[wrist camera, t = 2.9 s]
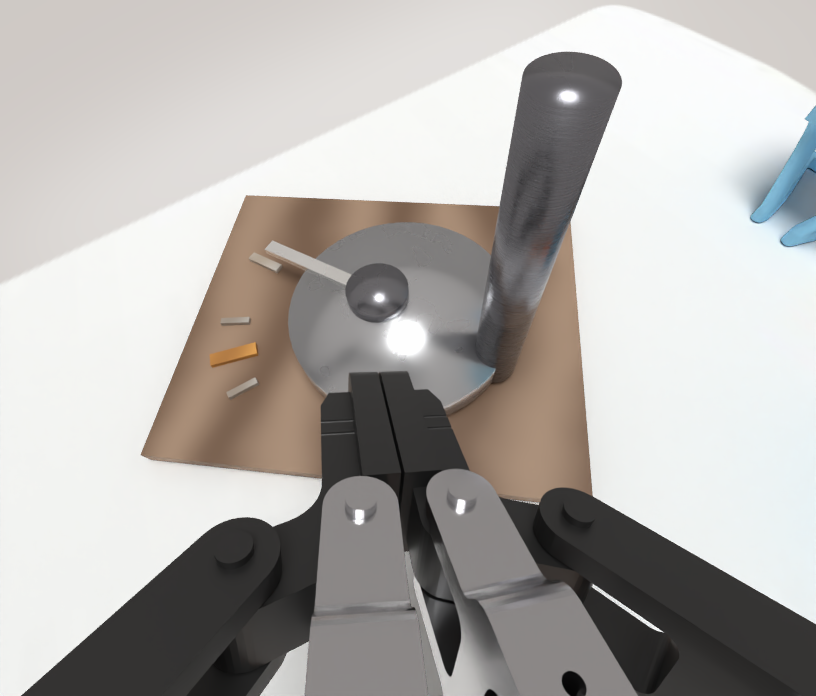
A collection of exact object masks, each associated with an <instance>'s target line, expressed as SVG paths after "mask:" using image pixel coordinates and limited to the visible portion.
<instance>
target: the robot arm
mask: <svg viewBox="0 0 816 696" xmlns="http://www.w3.org/2000/svg"><path fill="white" fill-rule="evenodd" d="M320 407H321V465H322V488H321V492H320V495H319V497H318V499H317V500H316V502H315V503H314V504H313V505H312V506H311V507H310V508H309V509H308V510H307V511H306V512H305V513H303V514H302V515H300V516H298V517H297V518H294V519H292V520H290V521H287V522H285V523H282V524H279V525H277V526H274V527H272V526H271V525H269V524H268V523H267V522H265V521H262V520H260V519H256V518H248V517H245V518H236V519H231V520H228V521H225V522H223V523H220V524H218V525H216V526H215V527H213V528H211V529H210V530H209V531H207V532H206V533H205V534H203V535H202V536H201V537H200V538H199V539H198V540H197V541H196V542H194V543H193V544H192V545H191V546H190V547H189V548H188V549H187V550H185V551H184V552H183V553H182V554H181V555H180V556H179V557H177V558H176V559H175V560H174V561H173V562H172V563H171V564H170V565H168V566H167V567H166V568H165V569H164V570H163V571H162V572H161V573H159V574H158V575H157V576H156V577H155V578H154V579H153V580H151V581H150V582H149V583H148V584H147V585H146V586H145V587H144V588H142V589H141V590H140V591H139V592H138V593H137V594H136V595H135V596H133V597H132V598H131V599H130V600H129V601H128V602H127V603H125V604H124V605H123V606H122V607H121V608H120V609H119V610H118V611H116V612H115V613H114V614H113V615H112V616H111V617H110V618H109V619H107V620H106V621H105V622H104V623H103V624H102V625H101V626H99V627H98V628H97V629H96V630H95V631H94V632H93V633H92V634H90V635H89V636H88V637H87V638H86V639H85V640H84V641H83V642H81V643H80V644H79V645H78V646H77V647H76V648H75V649H73V650H72V651H71V652H70V653H69V654H68V655H67V656H66V657H64V658H63V659H62V660H61V661H60V662H59V663H58V664H57V665H55V666H54V667H53V668H52V669H51V670H50V671H49V672H47V673H46V674H45V675H44V676H43V677H42V678H41V679H40V680H38V681H37V682H36V683H35V684H34V685H33V686H32V687H30V688H29V689H28V690H27V691H26V692H25V693H24V694H23V695H21V696H260V694H261V693H262V691H263V690H264V689H265V687H266V686H267V684H268V683H269V682H270V680H271V679H272V677H273V676H274V675H275V673H276V672H277V670H278V669H279V667H280V666H281V664H282V662H283V661H284V658H285V656H286V653H287V652H289V651H291V650H293V649H295V648H297V647H299V646H301V645H302V644H304V643H306V642H308V641H309V649H308V661H307V673H306V685H305V696H428V691H427V683H426V675H425V667H424V659H423V652H422V644H421V636H420V628H419V622H418V617H417V613H416V610H415V608H414V607H411V604H410V599H409V591H408V582H407V574H406V565H405V556H404V552H405V551H409V553H410V558H411V563H412V568H413V572H414V578H413V584H414V589H415V593H416V596H417V600H418V603H419V607H420V611H421V614H422V618H423V621H424V625H425V628H426V632H427V635H428V639H429V642H430V646H431V649H432V653H433V657H434V660H435V664H436V667H437V671H438V674H439V678H440V682H441V686H442V692H443V696H816V624H814V623H813V622H811V621H809V620H807V619H806V618H804V617H802V616H800V615H799V614H797V613H795V612H793V611H792V610H790V609H788V608H786V607H785V606H783V605H781V604H779V603H778V602H776V601H774V600H772V599H771V598H769V597H767V596H765V595H764V594H762V593H760V592H758V591H757V590H755V589H753V588H751V587H750V586H748V585H746V584H745V583H743V582H741V581H739V580H738V579H736V578H734V577H732V576H731V575H729V574H727V573H725V572H724V571H722V570H720V569H718V568H717V567H715V566H713V565H711V564H710V563H708V562H706V561H704V560H703V559H701V558H699V557H697V556H696V555H694V554H692V553H690V552H689V551H687V550H685V549H683V548H682V547H680V546H678V545H676V544H675V543H673V542H671V541H669V540H668V539H666V538H664V537H662V536H661V535H659V534H657V533H655V532H654V531H652V530H650V529H648V528H647V527H645V526H643V525H642V524H640V523H638V522H636V521H635V520H633V519H631V518H629V517H628V516H626V515H624V514H622V513H621V512H619V511H617V510H615V509H614V508H612V507H610V506H608V505H607V504H605V503H603V502H601V501H600V500H598V499H596V498H594V497H593V496H591V495H589V494H587V493H585V492H582V491H580V490H577V489H573V488H564V487H560V488H554V489H551V490H549V491H547V492H546V493H545V494H544V495H543V496H542V498H541V500H540V503H539V505H535V504H530V503H524V502H519V501H514V500H509V499H505V498H502V497H499V496H498V495H497V493H496V491H495V489H494V488H493V486H492V485H491V484H490V483H489V482H488V481H487V480H486V479H485V478H483V477H482V476H480V475H478V474H476V473H474V472H471V471H470V470H469V467H468V465H467V462H466V460H465V458H464V455H463V453H462V450H461V448H460V446H459V443H458V441H457V439H456V436H455V434H454V431H453V429H451V424H450V422H449V419H448V417H447V416H446V412H445V410H444V407H443V405H442V403H441V401H440V400H439V399H438V398H437V397H436V396H435V395H434V394H433V393H432V392H430V391H429V390H428V389H420V390H414V387H413V385H412V382H411V379H410V376H409V373H408V371H386V372H379V374H378V372H349V377H348V392H337V393H328V395H327V396H326V398H325V400H324V401H323V403H322V404H321V406H320ZM593 584H594V585H596V586H597V587H599V588H600V589H602V590H603V591H605V592H606V593H608V594H609V595H610V596H612V597H613V598H615V599H616V600H618V601H619V602H621V603H622V604H624V605H625V606H627V607H628V608H629V609H631V610H632V611H634V612H635V613H637V614H638V615H640V616H641V617H643V618H644V619H646V620H647V621H648V622H650V623H651V624H653V625H654V626H656V627H657V628H659V629H660V630H662V631H663V632H664V633H663V632H659V631H656V630H654V629H652V628H650V627H648V626H647V625H646V624H644V623H643V622H641V621H640V620H638V619H637V618H635V617H634V616H632V615H631V614H630V613H628V612H627V611H625V610H624V609H622V608H621V607H619V606H618V605H617V604H615V603H614V602H612V601H611V600H609V599H608V598H606V597H605V596H604V595H602V594H601V593H599V592H598V591H596V590H595V589H593V588H592V585H593Z"/></svg>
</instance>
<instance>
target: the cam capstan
mask: <svg viewBox="0 0 816 696" xmlns="http://www.w3.org/2000/svg"><path fill="white" fill-rule="evenodd" d="M621 86H622V79H621V76H620V74H619V72H618V71H617V70H616V68H615V67H613V66H612V65H611V64H610V63H608V62H607V61H605V60H603V59H601V58H599V57H596V56H593V55H589V54H585V53H578V52H558V53H552V54H548V55H544V56H542V57H539V58H537V59H535V60H534V61H532V62H531V63H530V64H529V65H528V66H527V67H526V68H525V70H524V72H523V76H522V82H521V87H520V93H519V99H518V104H517V110H516V116H515V121H514V127H513V133H512V139H511V144H510V150H509V156H508V161H507V167H506V173H505V178H504V184H503V190H502V195H501V201H500V207H499V213H498V218H497V224H496V230H495V235H494V241H493V247H492V252H491V255H490V254H489V253H488V252H487V251H486V250H485V249H484V248H482V247H481V246H479V245H478V244H477V243H475V242H474V241H472V240H471V239H469V238H467V237H465V236H464V235H462V234H459V233H457V232H455V231H452V230H450V229H446V228H443V227H440V226H436V225H431V224H425V223H415V222H398V223H388V224H382V225H377V226H373V227H369V228H366V229H363V230H360V231H357V232H355V233H353V234H350V235H348V236H346V237H344V238H343V239H341V240H339V241H337V242H336V243H334V244H333V245H331V246H330V247H328V248H327V249H326V250H325V251H324V252H322V253H321V254H320V255H319V256H318V257H317V258H316V259H314V258H312V257H310V256H307V255H305V254H303V253H300V252H298V251H296V250H293V249H291V248H289V247H286V246H284V245H282V244H279V243H277V242H275V241H271V243H270V244H269V245H268V246H267V247H266V248H265V251H266V253H267V254H269V255H271V256H273V257H276V258H278V259H280V260H282V261H285V262H287V263H289V264H291V265H294V266H296V267H298V268H300V269H303V270H305V272H304V274H303V275H302V276H301V278H300V280H299V282H298V284H297V286H296V288H295V291H294V293H293V296H292V299H291V303H290V308H289V317H288V327H289V337H290V340H291V344H292V348H293V350H294V353H295V355H296V357H297V360H298V361H299V363H300V365H301V366H302V368H303V370H304V371H305V373H306V374H307V376H308V378H309V379H310V381H311V382H312V384H313V385H314V387H315V388H316V389H317V390H318V391H319V392H320V393H321V394H322V396H324V397H325V398H326V396H327V395H328V393H337V392H348V377H349V372H378V374H379V372H386V371H408V373H409V376H410V379H411V382H412V385H413V387H414V390H420V389H428V390H429V391H430V392H432V393H433V394H434V395H435V396H436V397H437V398H438V399H439V400H440V401H441V403H442V405H443V407H444V410H445V412H446V416H448V415H450V414H452V413H454V412H456V411H458V410H460V409H462V408H464V407H465V406H466V405H468V404H469V403H471V402H472V401H474V400H475V399H476V398H477V397H478V396H479V395H480V394H482V393H483V392H484V391H485V390H486V389H487V387H488V386H489V385H490V384H491V383H498V382H502V381H505V380H506V379H508V378H509V377H510V376H511V375H512V373H513V371H514V369H515V366H516V363H517V361H518V358H519V356H520V353H521V350H522V348H523V345H524V342H525V340H526V337H527V334H528V332H529V329H530V327H531V324H532V321H533V319H534V316H535V313H536V311H537V308H538V305H539V303H540V300H541V298H542V295H543V292H544V290H545V287H546V284H547V282H548V279H549V276H550V274H551V271H552V268H553V266H554V263H555V261H556V258H557V255H558V253H559V250H560V247H561V245H562V242H563V239H564V237H565V234H566V232H567V229H568V226H569V224H570V221H571V218H572V216H573V213H574V210H575V208H576V205H577V203H578V200H579V197H580V195H581V192H582V189H583V187H584V184H585V181H586V179H587V176H588V173H589V171H590V168H591V166H592V163H593V160H594V158H595V155H596V152H597V150H598V147H599V144H600V142H601V139H602V137H603V134H604V131H605V129H606V126H607V123H608V121H609V118H610V115H611V113H612V110H613V108H614V105H615V102H616V100H617V97H618V94H619V92H620V89H621Z"/></svg>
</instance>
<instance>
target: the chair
mask: <svg viewBox="0 0 816 696" xmlns="http://www.w3.org/2000/svg"><path fill="white" fill-rule="evenodd" d="M805 120H807V121H809V123H808V125H807V128H806V130H805V132H804V134H803V135H802V137H801V139H800V141H799V142H798V144H797V146H796V148H795V150H794V151H793V153H792V155H791V156H790V158H789V160H788V161H787V163H786V165H785V167H784V168H783V170H782V172H781V173H780V175H779V177H778V178H777V180H776V182H775V183H774V185H773V187H772V188H771V190H770V191H769V193H768V195H767V196H766V198H765V200H764V201H763V203H762V204H761V205H760V206H759V207H758V208H757V210H756V211H755V212H754V213H753V214H752V215H751V219H752V220H753V221H755V222H764V221H766V220H767V219H769V218H770V217H771V216H772V215H773V214H774V213H775V212H776V211H777V210H778V209H779V208H780V207H781V206H782V204H783V203H784V202H785V201H786V199H787V198H788V197H789V195H790V194H791V192H792V191H793V189H794V188H795V186H796V185H797V183H798V182H799V180H800V179H801V177H802V175H803V174H804V172H805V171H806V169H807V167H808V168H810V169H812V170H814V171H815V172H816V152H815V149H816V106H815V107H814V108H813V109H812V111H811V112H810V113H809V114H808V116H807V117H806V118H805ZM815 240H816V216H814V217H812V218H809V219H807V220H805V221H803V222H801V223H799V224H797V225H796V226H794V227H793V228H792V229H791V230H789V231H788V232H787V233H786V234H785V235H784V236H783V237H782V239H781V242H782V243H783V244H784V245H786V246H795V245H799V244H802V243H806V242H811V241H815Z"/></svg>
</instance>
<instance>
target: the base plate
mask: <svg viewBox="0 0 816 696" xmlns="http://www.w3.org/2000/svg"><path fill="white" fill-rule="evenodd" d="M499 207H500V206H478V205H455V204H432V203H409V202H386V201H363V200H340V199H317V198H294V197H271V196H248V195H246V197H245V199H244V202H243V204H242V207H241V209H240V212H239V214H238V217H237V219H236V222H235V224H234V226H233V229H232V231H231V234H230V236H229V239H228V241H227V244H226V246H225V249H224V251H223V253H222V256H221V258H220V261H219V263H218V266H217V268H216V271H215V273H214V276H213V278H212V281H211V283H210V285H209V288H208V290H207V293H206V295H205V298H204V300H203V303H202V305H201V308H200V310H199V313H198V315H197V317H196V320H195V322H194V325H193V327H192V330H191V332H190V335H189V337H188V340H187V342H186V344H185V347H184V349H183V352H182V354H181V357H180V359H179V362H178V364H177V367H176V369H175V372H174V374H173V376H172V379H171V381H170V384H169V386H168V389H167V391H166V394H165V396H164V399H163V401H162V404H161V406H160V408H159V411H158V413H157V416H156V418H155V421H154V423H153V426H152V428H151V431H150V433H149V435H148V438H147V440H146V443H145V445H144V448H143V450H142V453H141V455H142V456H144V457H146V458H148V459H151V460H159V461H168V462H177V463H186V464H196V465H205V466H214V467H223V468H232V469H241V470H250V471H259V472H268V473H277V474H286V475H295V476H305V477H314V478H322V465H321V407H320V406H321V404H322V403H323V401H324V400H325V397H324V396H322V394H321V393H320V392H319V391H318V390H317V389H316V388H315V387H314V385H313V384H312V382H311V381H310V379H309V378H308V376H307V374H306V373H305V371H304V370H303V368H302V366H301V365H300V363H299V361H298V360H297V357H296V355H295V353H294V350H293V348H292V344H291V340H290V337H289V327H288V317H289V308H290V303H291V299H292V296H293V293H294V291H295V288H296V286H297V284H298V282H299V280H300V278H301V276H302V275H303V274H304V272H305V270H303V269H300V268H298V267H296V266H294V265H291V264H289V263H287V262H285V261H282V260H280V259H278V258H276V257H273V256H271V255H269V254H267V253H266V251H265V248H266V247H267V246H268V245H269V244H270V243H271V241H275V242H277V243H279V244H282V245H284V246H286V247H289V248H291V249H293V250H296V251H298V252H300V253H303V254H305V255H307V256H310V257H312V258H314V259H316V258H317V257H318V256H319V255H320V254H321V253H322V252H324V251H325V250H326V249H327V248H328V247H330V246H331V245H333V244H334V243H336V242H337V241H339V240H341V239H343V238H344V237H346V236H348V235H350V234H353V233H355V232H357V231H360V230H363V229H366V228H369V227H373V226H377V225H382V224H388V223H398V222H415V223H425V224H431V225H436V226H440V227H443V228H446V229H450V230H452V231H455V232H457V233H459V234H462V235H464V236H465V237H467V238H469V239H471V240H472V241H474V242H475V243H477V244H478V245H479V246H481V247H482V248H484V249H485V250H486V251H487V252H488V253H489V254H490V255H491V252H492V247H493V241H494V235H495V230H496V224H497V218H498V213H499ZM447 417H448V419H449V422H450V424H451V429H453V431H454V434H455V436H456V439H457V441H458V443H459V446H460V448H461V450H462V453H463V455H464V458H465V460H466V462H467V465H468V467H469V470H470V471H471V472H474V473H476V474H478V475H480V476H482V477H483V478H485V479H486V480H487V481H488V482H489V483H490V484H491V485H492V486H493V488H494V489H495V491H496V493H497V495H498V496H499V497H502V498H505V499H514V500H523V501H532V502H540V500H541V498H542V496H543V495H544V494H545V493H546V492H547V491H549V490H551V489H554V488H560V487H564V488H573V489H577V490H580V491H582V492H585V493H587V494H589V495H591V496H593V495H592V483H591V471H590V458H589V446H588V434H587V421H586V409H585V397H584V384H583V372H582V360H581V347H580V335H579V322H578V310H577V298H576V285H575V273H574V261H573V248H572V236H571V224H569V226H568V229H567V232H566V234H565V237H564V239H563V242H562V245H561V247H560V250H559V253H558V255H557V258H556V261H555V263H554V266H553V268H552V271H551V274H550V276H549V279H548V282H547V284H546V287H545V290H544V292H543V295H542V298H541V300H540V303H539V305H538V308H537V311H536V313H535V316H534V319H533V321H532V324H531V327H530V329H529V332H528V334H527V337H526V340H525V342H524V345H523V348H522V350H521V353H520V356H519V358H518V361H517V363H516V366H515V369H514V371H513V373H512V375H511V376H510V377H509V378H508V379H506V380H505V381H502V382H498V383H491V384H490V385H489V386H488V387H487V389H486V390H485V391H484V392H483V393H482V394H480V395H479V396H478V397H477V398H476V399H475V400H474V401H472V402H471V403H469V404H468V405H466V406H465V407H464V408H462V409H460V410H458V411H456V412H454V413H452V414H450V415H448V416H447Z"/></svg>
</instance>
